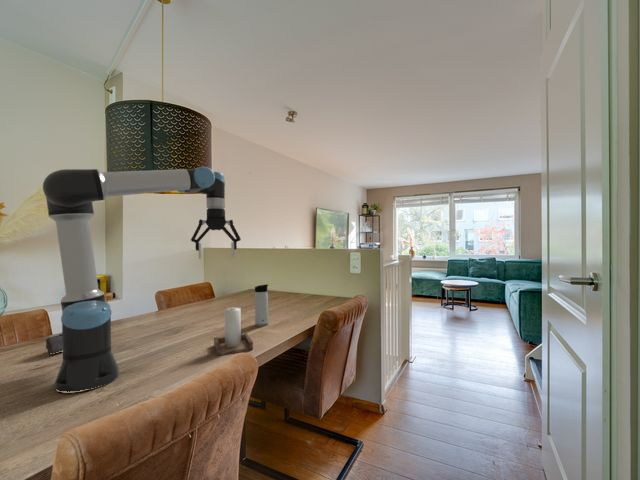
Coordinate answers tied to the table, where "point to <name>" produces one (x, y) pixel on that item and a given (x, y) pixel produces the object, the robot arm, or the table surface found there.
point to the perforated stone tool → (54, 344)
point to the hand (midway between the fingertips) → (216, 257)
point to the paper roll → (232, 327)
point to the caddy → (245, 345)
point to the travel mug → (261, 305)
